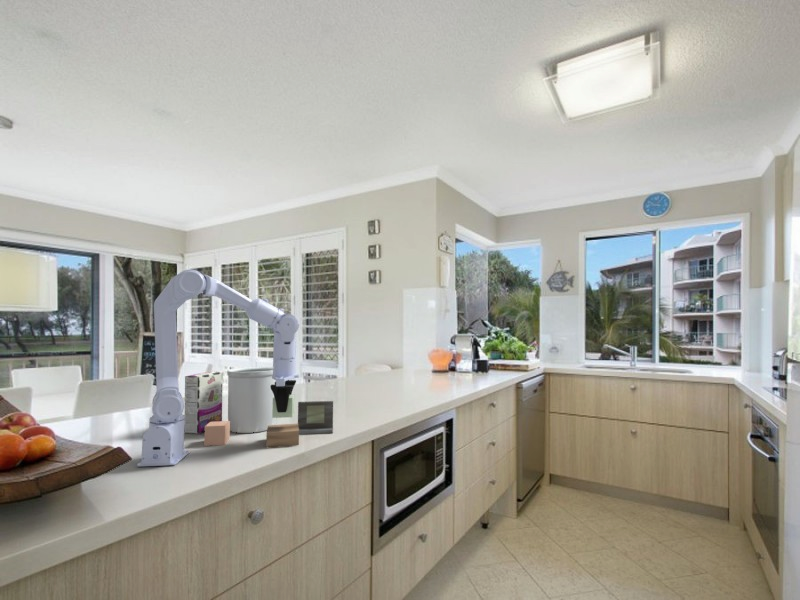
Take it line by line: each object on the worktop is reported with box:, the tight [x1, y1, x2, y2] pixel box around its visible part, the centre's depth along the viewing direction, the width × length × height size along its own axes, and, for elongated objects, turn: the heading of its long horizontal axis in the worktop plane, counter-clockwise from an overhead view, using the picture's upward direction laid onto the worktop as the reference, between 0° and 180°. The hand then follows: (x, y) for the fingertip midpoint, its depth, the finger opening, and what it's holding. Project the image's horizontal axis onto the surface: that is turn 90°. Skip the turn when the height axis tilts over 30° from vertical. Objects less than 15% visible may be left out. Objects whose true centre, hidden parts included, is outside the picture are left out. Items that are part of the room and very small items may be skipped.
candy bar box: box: [184, 370, 224, 435], centre depth 123 cm, size 11×5×16 cm, turn 168°
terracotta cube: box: [203, 420, 231, 447], centre depth 109 cm, size 5×5×5 cm
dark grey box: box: [297, 400, 334, 435], centre depth 121 cm, size 6×10×8 cm, turn 99°
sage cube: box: [272, 394, 295, 419], centre depth 110 cm, size 5×5×5 cm
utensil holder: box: [226, 366, 278, 434], centre depth 125 cm, size 15×15×18 cm
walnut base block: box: [265, 423, 300, 448], centre depth 109 cm, size 8×8×4 cm
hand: (283, 409), depth 110 cm, fingers closed on sage cube, 5 cm apart
